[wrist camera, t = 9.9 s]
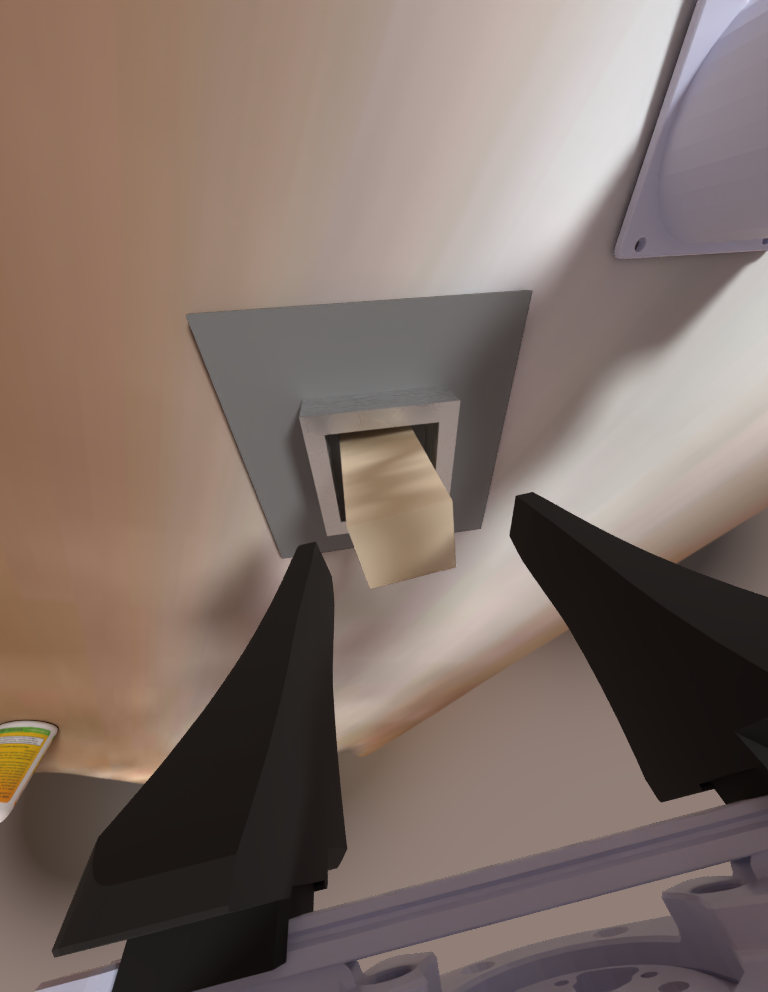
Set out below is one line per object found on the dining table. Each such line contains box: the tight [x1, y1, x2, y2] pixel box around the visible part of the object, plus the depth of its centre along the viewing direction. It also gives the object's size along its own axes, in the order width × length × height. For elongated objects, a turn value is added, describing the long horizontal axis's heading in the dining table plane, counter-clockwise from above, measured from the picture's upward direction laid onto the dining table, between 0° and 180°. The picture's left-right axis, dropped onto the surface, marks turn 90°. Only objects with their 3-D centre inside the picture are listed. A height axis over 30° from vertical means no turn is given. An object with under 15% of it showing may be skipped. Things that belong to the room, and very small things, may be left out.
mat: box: [186, 290, 532, 559], centre depth 18 cm, size 16×16×1 cm
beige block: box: [339, 425, 456, 589], centre depth 15 cm, size 4×4×8 cm
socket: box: [299, 385, 460, 536], centre depth 17 cm, size 8×8×2 cm
